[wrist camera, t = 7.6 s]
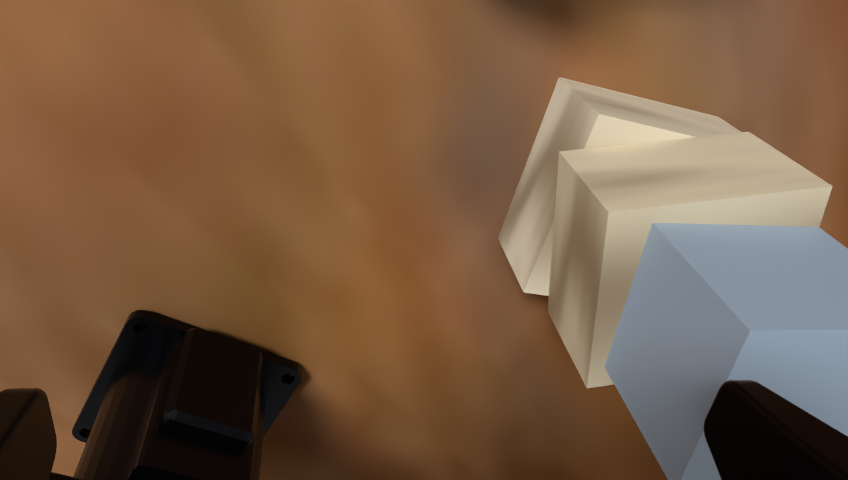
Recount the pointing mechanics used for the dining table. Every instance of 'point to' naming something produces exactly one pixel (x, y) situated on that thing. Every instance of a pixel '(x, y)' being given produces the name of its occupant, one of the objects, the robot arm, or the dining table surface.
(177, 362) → the robot arm
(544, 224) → the tower base
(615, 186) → the tower top
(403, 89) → the dining table surface
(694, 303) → the blue block
